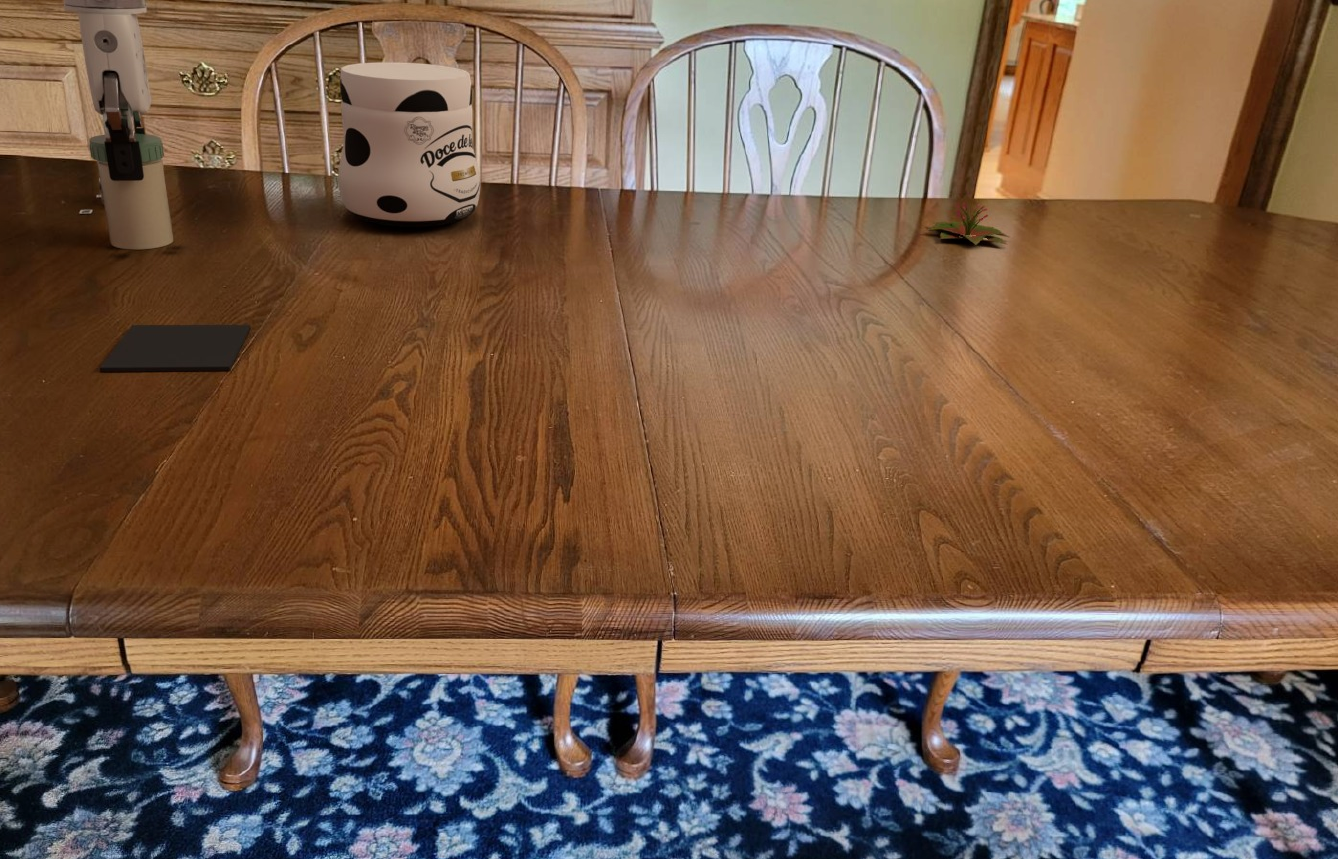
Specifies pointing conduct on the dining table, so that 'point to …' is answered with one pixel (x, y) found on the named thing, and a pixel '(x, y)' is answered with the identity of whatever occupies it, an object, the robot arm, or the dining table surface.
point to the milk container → (407, 144)
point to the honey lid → (148, 143)
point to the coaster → (177, 348)
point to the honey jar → (137, 208)
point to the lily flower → (968, 228)
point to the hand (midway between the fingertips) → (130, 170)
